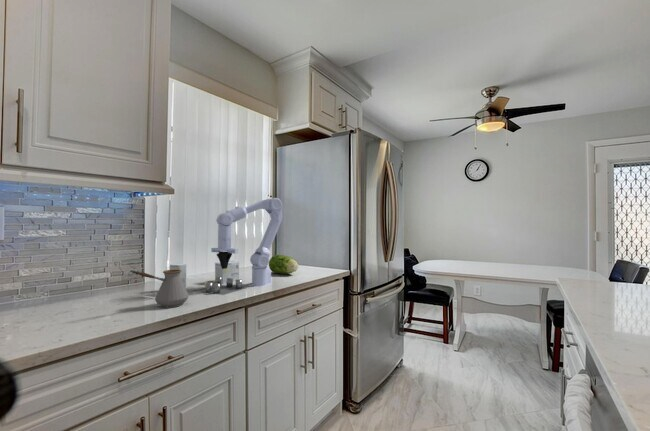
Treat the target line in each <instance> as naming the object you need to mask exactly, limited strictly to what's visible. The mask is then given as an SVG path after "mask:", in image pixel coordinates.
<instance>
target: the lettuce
mask: <svg viewBox="0 0 650 431" xmlns="http://www.w3.org/2000/svg"><path fill="white" fill-rule="evenodd" d="M268 267H269V268H270V270H271V273H274V274H278V273H279V274H280V275H288V274H292V273H295V272H297V271H298V269H299V264H298V262H297V261H296V260H295V259H294V258H293V257H291V256H287V255H284V254H274V255H273V256H271V258H269V264H268ZM279 274H278V275H279Z"/></svg>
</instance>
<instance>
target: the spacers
mask: <svg viewBox="0 0 650 431" xmlns="http://www.w3.org/2000/svg"><path fill="white" fill-rule="evenodd" d="M216 281H217V283H214V284H213V282H207V283H206V294H211V293H210V292H213V293H214V294H213V295H219V294H218V293H220V286H222V285H223V284H222V277H216ZM233 285H234V282H233V278H227V283H226V286H227V288H230V287H234V286H233ZM235 287H236V289H242V288H243V280H242V279H241V278H239V279H238V280H236V281H235ZM242 290H243V289H242Z"/></svg>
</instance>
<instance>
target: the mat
mask: <svg viewBox="0 0 650 431" xmlns="http://www.w3.org/2000/svg"><path fill="white" fill-rule="evenodd" d="M245 289H247V287H242V289H236V286H233V287H230V288H227V285H224V284H222V286H220V293H218V294H217V295H219V296H220V295H221V296H225V295H228V294H231V293H235V292H239V291H242V290H245ZM193 292H199V293H206V289H205V287H203V288H198V289H195V290H193ZM206 294H207V293H206ZM209 294H212V295H215V294H214V293H213V292H210V293H209Z"/></svg>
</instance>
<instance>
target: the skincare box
mask: <svg viewBox="0 0 650 431" xmlns="http://www.w3.org/2000/svg"><path fill="white" fill-rule="evenodd" d="M169 270H182V271H181V272H180V278H181V280H182V282H183V284H184V286H185V289H186V290H187V264H186V263H172V264H169Z"/></svg>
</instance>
